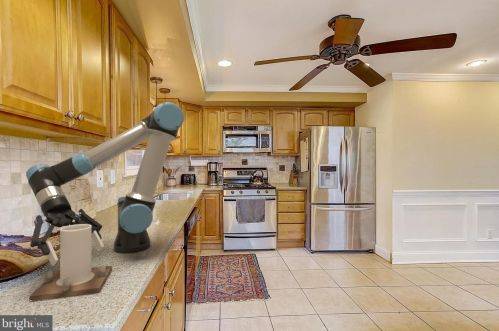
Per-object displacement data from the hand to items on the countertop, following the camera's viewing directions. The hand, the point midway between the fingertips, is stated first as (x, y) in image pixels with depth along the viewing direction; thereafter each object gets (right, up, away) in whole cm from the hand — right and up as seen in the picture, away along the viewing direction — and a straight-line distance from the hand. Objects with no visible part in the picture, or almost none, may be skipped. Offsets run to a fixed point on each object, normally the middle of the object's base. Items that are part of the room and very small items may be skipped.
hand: (80, 255), depth 81 cm
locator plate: (-2, -9, +1) cm, 10 cm away
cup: (-2, -8, +2) cm, 8 cm away
